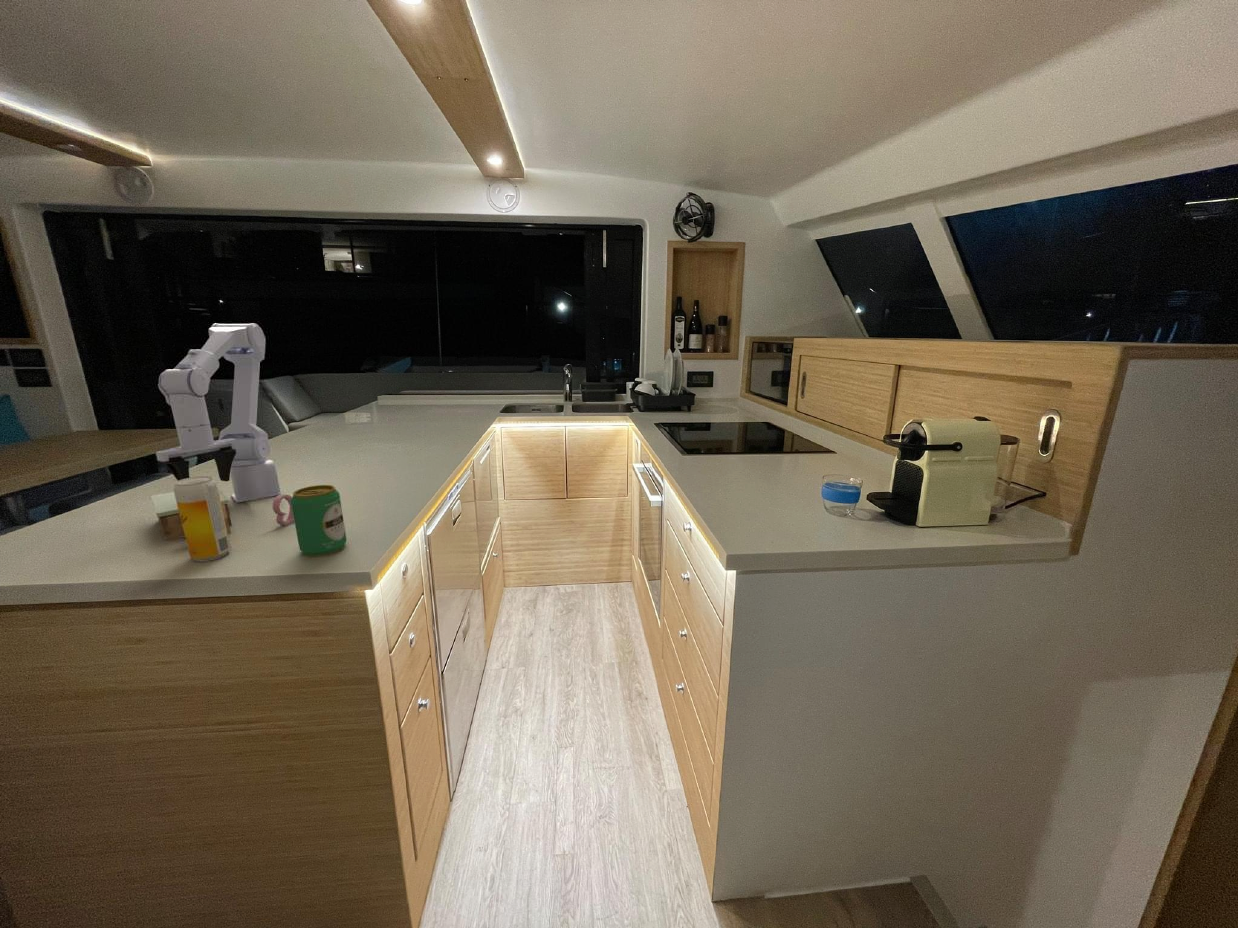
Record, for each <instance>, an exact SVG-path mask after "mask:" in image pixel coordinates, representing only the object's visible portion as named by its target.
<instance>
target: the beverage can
mask: <svg viewBox="0 0 1238 928" xmlns="http://www.w3.org/2000/svg"><path fill="white" fill-rule="evenodd" d="M340 496H341V495H340V492H339V491H338V490H337V489H336V487H335V486H333V485H330V484H329V485H328V484H320V485H319V484H318V485H311V486H305V487H302V488H299V489H296V490H294V492H293V494H292V496H291V497H292V499H291V505H292V511H293V516H294V520H293V522H294V526H295V531H296V537H297V543H298V548H299V551H301V552H302V553H303V555H304V556H306V557H312V558H313V557H324V556H329V555H333V554H335V553H337V552H339V551H341V550H343V549H344V548H345V545H346V543H347V539H348V538H347V534H346V527H345V522H344V515H343V509H342V508H343V507H342V502H341V497H340Z"/></svg>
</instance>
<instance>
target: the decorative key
mask: <svg viewBox="0 0 1238 928" xmlns="http://www.w3.org/2000/svg"><path fill="white" fill-rule="evenodd" d="M292 497H293V496H291V495H289V494H280V495H276V497H275V498H274V499H273V501H272V502H273V503H272V510H273V513H275V514H276V519H275V520H276V522H277V525H278V526H288V525H290V524H292V523H293V522H294V516H293V511H292V505H291V499H292ZM282 500H286V501H287V503H288V505H289V513H288V516H287V519H286V520H284V517H285V515H286V514H287V513H286V512H282V511H281V502H282Z"/></svg>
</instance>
